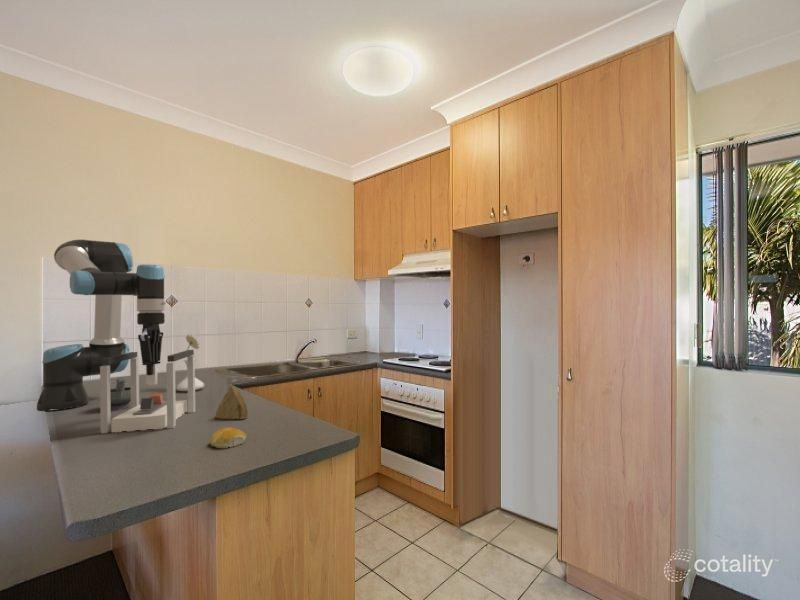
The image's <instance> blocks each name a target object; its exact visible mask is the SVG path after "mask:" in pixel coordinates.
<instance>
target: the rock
mask: <svg viewBox="0 0 800 600" xmlns="http://www.w3.org/2000/svg"><path fill="white" fill-rule="evenodd" d="M218 405H219V406H218V407H217V410H216V412H215V415H214V419H220V420H244V419H248V409H247V405H246V403H245V400H244V397H243V395H241V392H240V391H239V390H238V388H236V387H234V386H229V388H228V389H227V391H226V393H225V394H224V396H223V398H222V400H221V401H220V404H218Z"/></svg>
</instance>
